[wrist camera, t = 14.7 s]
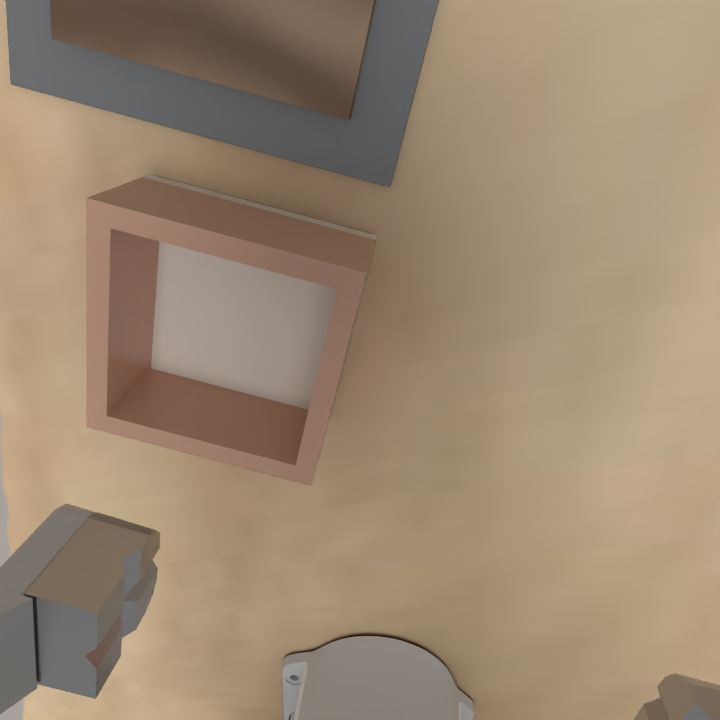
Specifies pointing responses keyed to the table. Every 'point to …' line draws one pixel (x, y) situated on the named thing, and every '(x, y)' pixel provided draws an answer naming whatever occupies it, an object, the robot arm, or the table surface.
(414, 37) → the rubber mat
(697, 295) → the table surface
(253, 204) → the salmon open box
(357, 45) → the walnut lid
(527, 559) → the table surface
